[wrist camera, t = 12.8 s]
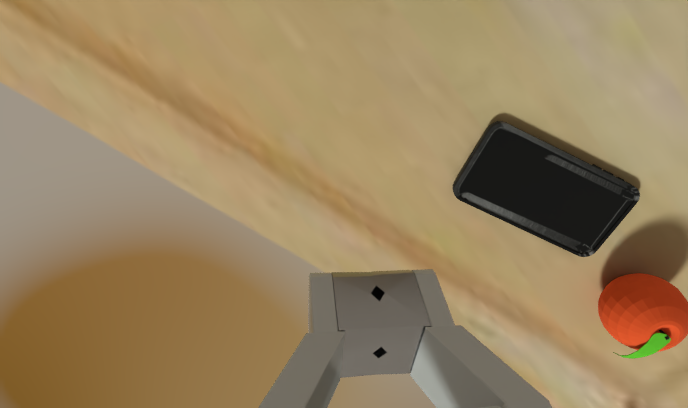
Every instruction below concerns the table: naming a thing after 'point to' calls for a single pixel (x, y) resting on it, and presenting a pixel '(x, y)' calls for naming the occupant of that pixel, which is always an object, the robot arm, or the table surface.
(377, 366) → the robot arm
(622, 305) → the clementine
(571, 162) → the phone
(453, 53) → the table surface
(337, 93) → the table surface
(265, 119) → the table surface
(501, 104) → the table surface
